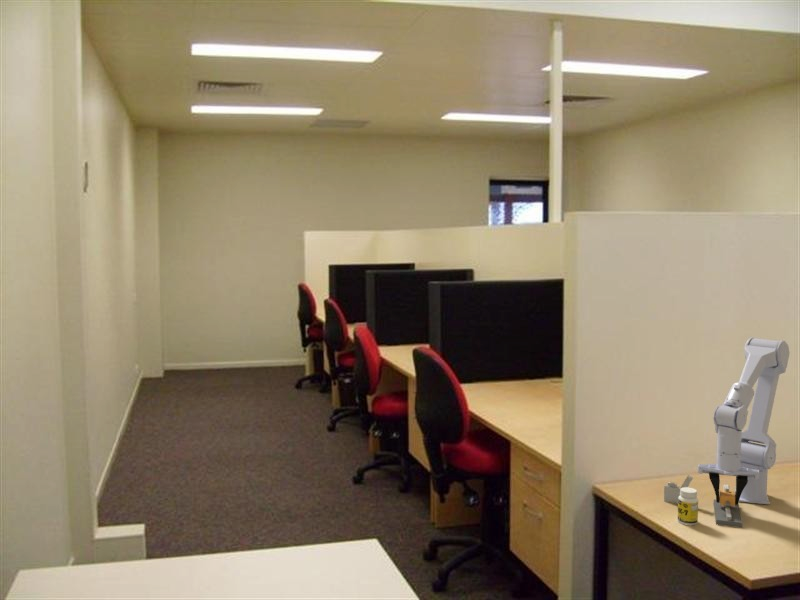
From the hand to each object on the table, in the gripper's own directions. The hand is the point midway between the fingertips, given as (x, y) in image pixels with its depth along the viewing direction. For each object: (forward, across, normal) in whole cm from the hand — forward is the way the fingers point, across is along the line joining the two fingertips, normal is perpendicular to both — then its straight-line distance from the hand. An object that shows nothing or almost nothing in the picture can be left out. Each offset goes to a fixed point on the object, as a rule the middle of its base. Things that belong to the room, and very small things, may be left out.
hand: (727, 502), depth 194 cm
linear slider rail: (+3, 0, -2) cm, 3 cm away
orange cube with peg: (0, 0, -1) cm, 1 cm away
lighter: (+3, -12, +3) cm, 13 cm away
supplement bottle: (+3, -10, -10) cm, 14 cm away
